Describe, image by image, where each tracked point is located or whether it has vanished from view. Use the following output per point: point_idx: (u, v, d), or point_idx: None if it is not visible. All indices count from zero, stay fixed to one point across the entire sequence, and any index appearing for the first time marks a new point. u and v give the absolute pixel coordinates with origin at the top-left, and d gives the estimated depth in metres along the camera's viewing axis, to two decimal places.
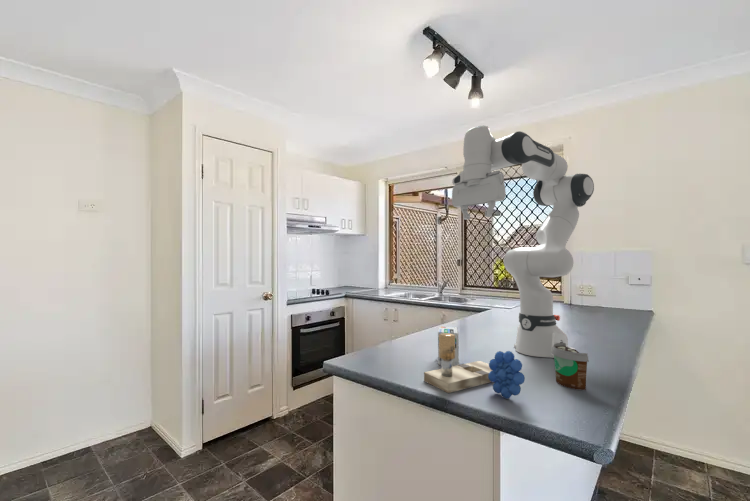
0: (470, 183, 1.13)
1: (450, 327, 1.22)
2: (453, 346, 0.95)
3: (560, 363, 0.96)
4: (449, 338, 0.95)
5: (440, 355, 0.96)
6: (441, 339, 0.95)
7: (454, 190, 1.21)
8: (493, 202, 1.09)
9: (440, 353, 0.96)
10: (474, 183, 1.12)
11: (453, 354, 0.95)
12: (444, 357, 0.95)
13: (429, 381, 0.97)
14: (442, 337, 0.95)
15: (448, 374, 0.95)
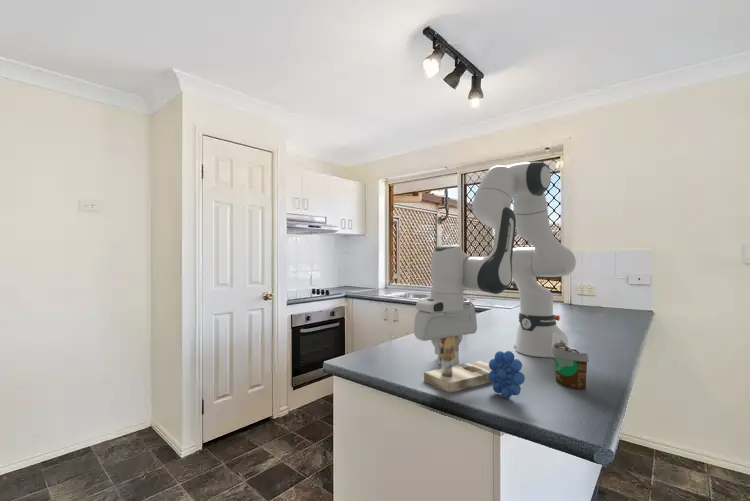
0: (455, 314, 0.94)
1: None
2: (453, 346, 0.95)
3: (560, 363, 0.96)
4: (449, 338, 0.95)
5: (440, 355, 0.96)
6: (441, 339, 0.96)
7: (429, 319, 0.91)
8: None
9: None
10: (457, 314, 0.95)
11: (453, 354, 0.95)
12: (444, 357, 0.95)
13: (429, 381, 0.97)
14: None
15: (448, 374, 0.95)
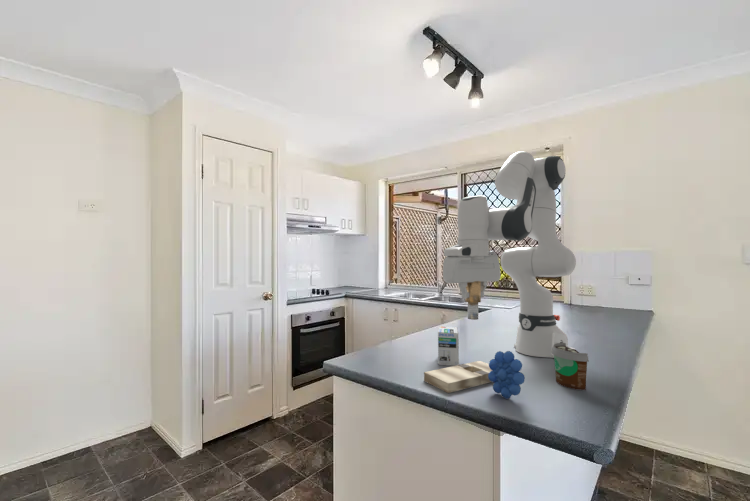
0: (481, 260, 1.00)
1: (450, 327, 1.22)
2: (479, 290, 1.00)
3: (560, 363, 0.96)
4: (475, 283, 1.00)
5: (467, 299, 1.01)
6: (468, 284, 1.01)
7: (457, 263, 0.96)
8: None
9: None
10: (483, 260, 1.01)
11: (479, 298, 1.00)
12: (471, 301, 1.00)
13: (429, 381, 0.97)
14: None
15: (474, 317, 1.00)
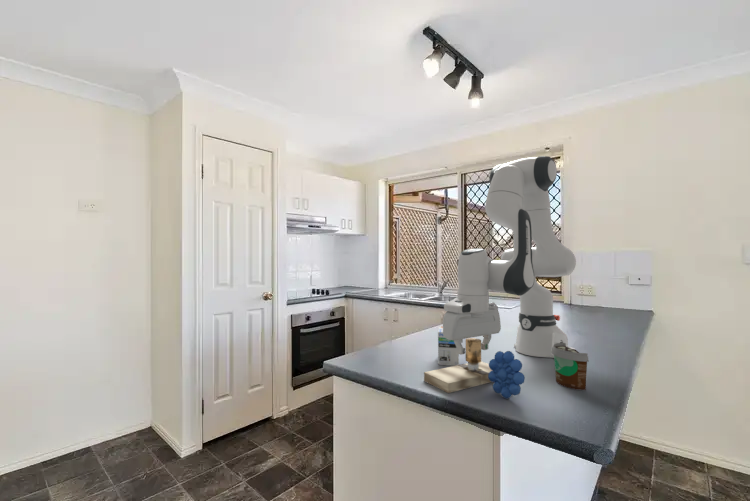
0: (481, 315, 0.99)
1: None
2: (480, 350, 1.00)
3: (560, 363, 0.96)
4: (476, 343, 1.00)
5: (467, 359, 1.01)
6: (468, 344, 1.01)
7: (457, 320, 0.96)
8: None
9: (467, 357, 1.01)
10: (483, 315, 1.00)
11: (479, 358, 1.00)
12: (471, 361, 1.00)
13: (429, 381, 0.97)
14: (469, 342, 1.00)
15: None
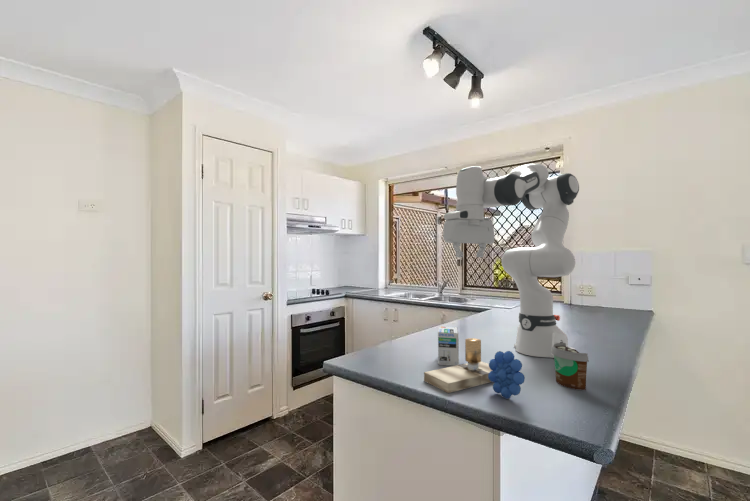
0: (477, 223, 1.13)
1: (450, 327, 1.22)
2: (479, 350, 1.00)
3: (560, 363, 0.96)
4: (476, 343, 1.00)
5: (467, 359, 1.01)
6: (468, 344, 1.01)
7: (456, 224, 1.09)
8: None
9: (467, 357, 1.01)
10: (479, 224, 1.14)
11: (479, 358, 1.00)
12: (471, 361, 1.00)
13: (429, 381, 0.97)
14: (469, 342, 1.00)
15: None
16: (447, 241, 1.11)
